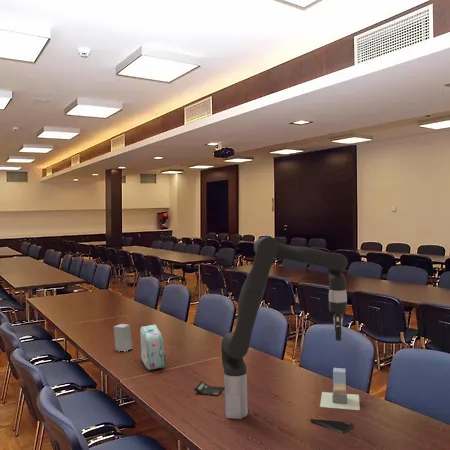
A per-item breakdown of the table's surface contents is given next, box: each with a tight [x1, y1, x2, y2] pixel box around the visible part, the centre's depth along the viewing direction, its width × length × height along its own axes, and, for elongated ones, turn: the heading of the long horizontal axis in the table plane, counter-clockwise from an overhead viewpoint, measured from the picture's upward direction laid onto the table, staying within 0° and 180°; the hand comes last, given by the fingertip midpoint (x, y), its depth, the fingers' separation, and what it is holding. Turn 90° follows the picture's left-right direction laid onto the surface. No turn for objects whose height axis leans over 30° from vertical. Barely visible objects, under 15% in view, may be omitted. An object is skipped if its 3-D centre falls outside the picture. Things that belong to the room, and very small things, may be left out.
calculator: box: [193, 380, 225, 397], centre depth 213 cm, size 9×12×3 cm
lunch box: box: [139, 323, 166, 371], centre depth 252 cm, size 27×10×21 cm, turn 20°
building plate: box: [319, 391, 361, 411], centre depth 196 cm, size 16×16×1 cm
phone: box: [309, 418, 354, 434], centre depth 177 cm, size 8×1×15 cm
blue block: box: [332, 367, 347, 384], centre depth 196 cm, size 5×5×5 cm
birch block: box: [332, 383, 347, 396], centre depth 196 cm, size 5×5×5 cm
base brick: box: [332, 389, 348, 404], centre depth 196 cm, size 6×6×3 cm
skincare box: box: [113, 323, 133, 353], centre depth 280 cm, size 8×7×16 cm
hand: (338, 337), depth 196 cm, fingers open, 8 cm apart
